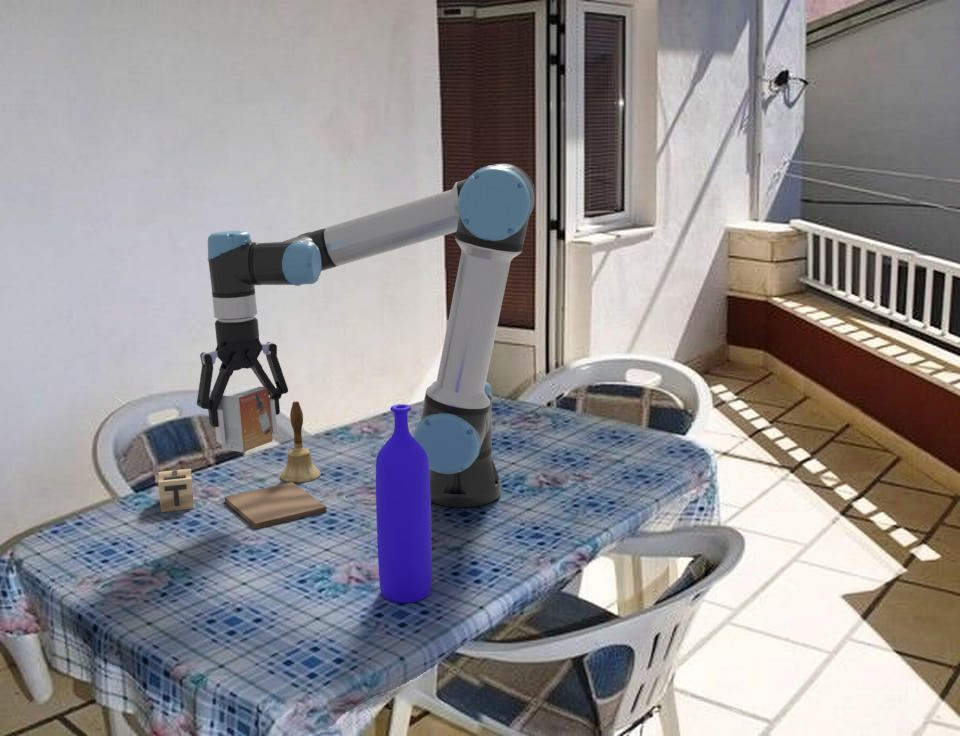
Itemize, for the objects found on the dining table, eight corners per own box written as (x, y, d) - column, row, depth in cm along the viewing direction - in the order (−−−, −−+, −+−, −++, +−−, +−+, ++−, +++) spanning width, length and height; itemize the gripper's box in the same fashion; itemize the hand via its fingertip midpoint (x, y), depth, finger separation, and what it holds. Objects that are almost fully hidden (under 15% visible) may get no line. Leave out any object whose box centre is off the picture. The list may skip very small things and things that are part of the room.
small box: (243, 453, 175) (238, 397, 172) (221, 449, 177) (215, 394, 175) (274, 441, 181) (269, 387, 179) (252, 437, 184) (246, 383, 182)
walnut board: (326, 511, 182) (326, 506, 182) (255, 528, 174) (255, 523, 174) (292, 486, 195) (292, 482, 195) (224, 501, 187) (224, 496, 187)
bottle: (425, 607, 145) (420, 415, 138) (372, 602, 147) (365, 412, 140) (438, 582, 153) (434, 400, 146) (388, 578, 155) (382, 397, 148)
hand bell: (272, 480, 199) (267, 405, 195) (294, 467, 206) (290, 395, 203) (307, 485, 196) (302, 409, 192) (328, 471, 203) (324, 398, 200)
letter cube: (194, 509, 184) (191, 478, 183) (160, 512, 182) (158, 481, 181) (193, 497, 190) (190, 467, 188) (161, 501, 188) (158, 470, 187)
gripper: (284, 307, 183) (293, 421, 188) (168, 323, 171) (182, 444, 176) (301, 312, 177) (310, 430, 182) (182, 329, 165) (196, 454, 170)
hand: (247, 437), depth 179 cm, fingers closed on small box, 9 cm apart
